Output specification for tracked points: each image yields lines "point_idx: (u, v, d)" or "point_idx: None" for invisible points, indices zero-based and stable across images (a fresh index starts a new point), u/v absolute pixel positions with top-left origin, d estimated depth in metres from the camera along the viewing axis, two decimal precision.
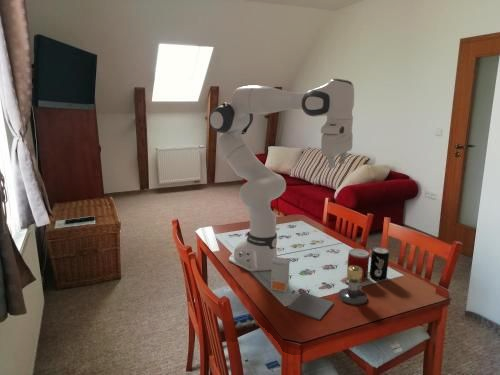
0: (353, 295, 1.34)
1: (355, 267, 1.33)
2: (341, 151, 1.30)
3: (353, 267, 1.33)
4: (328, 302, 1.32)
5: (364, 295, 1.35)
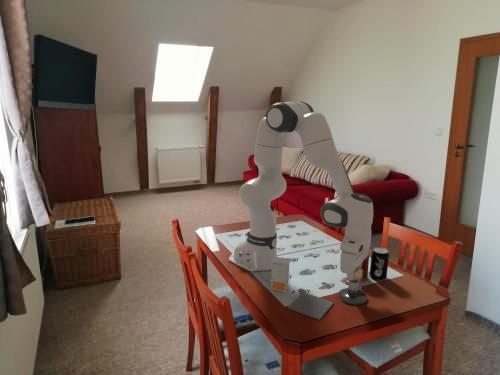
0: (353, 295, 1.34)
1: None
2: (359, 264, 1.30)
3: None
4: (328, 302, 1.32)
5: (364, 295, 1.35)
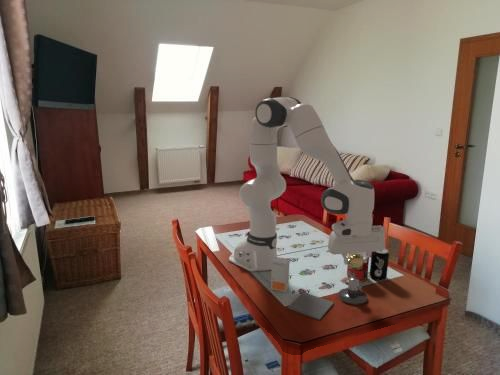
0: (353, 295, 1.34)
1: (357, 255, 1.32)
2: (356, 251, 1.29)
3: (354, 254, 1.32)
4: (328, 302, 1.32)
5: (364, 295, 1.35)
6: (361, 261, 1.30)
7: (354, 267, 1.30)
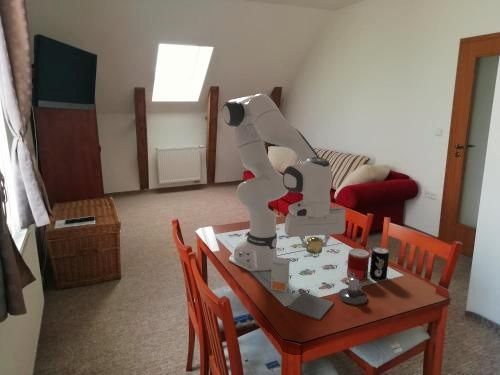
0: (353, 295, 1.34)
1: (316, 238, 1.24)
2: (313, 233, 1.21)
3: (313, 237, 1.24)
4: (328, 302, 1.32)
5: (364, 295, 1.35)
6: (320, 244, 1.22)
7: (312, 251, 1.22)
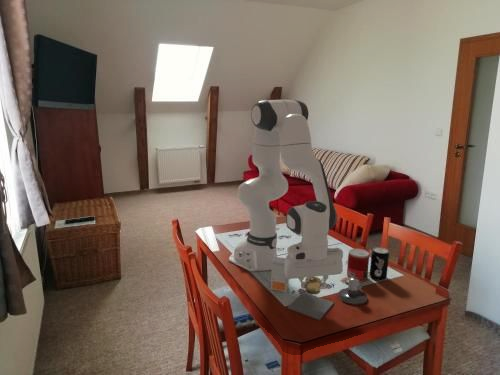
0: (353, 295, 1.34)
1: (314, 278, 1.27)
2: (312, 275, 1.25)
3: (311, 278, 1.28)
4: (328, 302, 1.32)
5: (364, 295, 1.35)
6: (318, 285, 1.26)
7: (311, 291, 1.26)
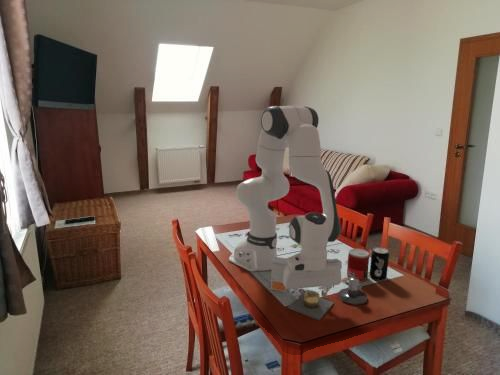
0: (353, 295, 1.34)
1: (313, 293, 1.29)
2: (311, 285, 1.26)
3: (310, 292, 1.29)
4: (328, 302, 1.32)
5: (364, 295, 1.35)
6: (316, 300, 1.27)
7: (309, 306, 1.27)
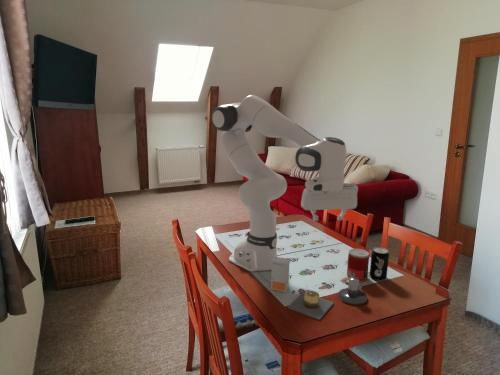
0: (353, 295, 1.34)
1: (313, 293, 1.29)
2: (328, 207, 1.32)
3: (310, 292, 1.29)
4: (328, 302, 1.32)
5: (364, 295, 1.35)
6: (316, 300, 1.27)
7: (309, 306, 1.27)
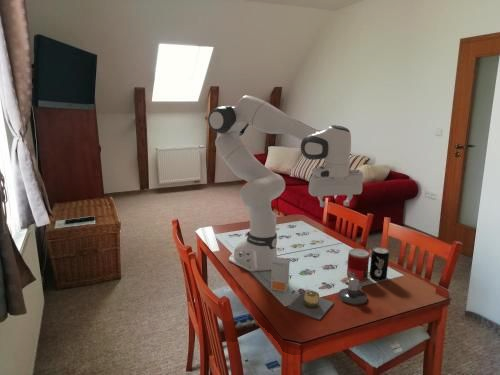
0: (353, 295, 1.34)
1: (313, 293, 1.29)
2: (334, 193, 1.37)
3: (310, 292, 1.29)
4: (328, 302, 1.32)
5: (364, 295, 1.35)
6: (316, 300, 1.27)
7: (309, 306, 1.27)
